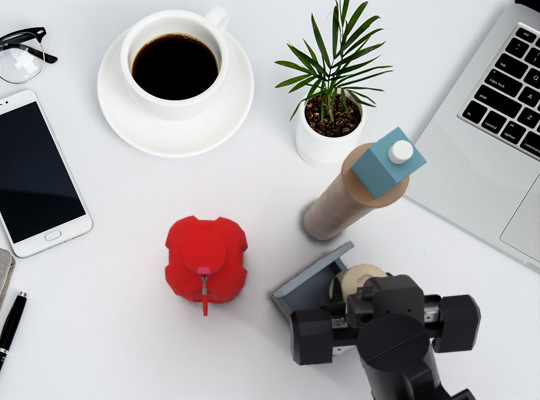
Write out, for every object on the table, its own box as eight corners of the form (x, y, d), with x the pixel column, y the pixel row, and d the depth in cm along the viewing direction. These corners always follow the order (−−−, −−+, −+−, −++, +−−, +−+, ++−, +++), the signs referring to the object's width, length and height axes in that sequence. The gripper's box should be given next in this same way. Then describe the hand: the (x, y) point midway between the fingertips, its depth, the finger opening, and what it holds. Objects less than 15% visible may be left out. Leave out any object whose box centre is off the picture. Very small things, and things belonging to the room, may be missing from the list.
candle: (381, 285, 76) (404, 280, 67) (359, 323, 76) (379, 323, 66) (342, 261, 77) (360, 253, 67) (320, 298, 76) (334, 295, 67)
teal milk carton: (401, 180, 55) (433, 157, 47) (375, 199, 55) (402, 179, 47) (376, 149, 56) (403, 120, 48) (350, 167, 56) (372, 142, 47)
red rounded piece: (174, 314, 84) (154, 315, 59) (176, 234, 86) (158, 203, 61) (242, 317, 83) (250, 318, 58) (243, 236, 85) (252, 205, 60)
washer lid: (355, 246, 68) (350, 240, 68) (284, 296, 67) (280, 290, 67) (337, 254, 78) (334, 249, 78) (276, 298, 77) (272, 293, 77)
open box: (371, 314, 82) (382, 315, 77) (313, 356, 82) (320, 360, 76) (327, 256, 84) (335, 252, 78) (270, 296, 83) (274, 295, 78)
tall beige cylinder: (352, 227, 84) (423, 181, 55) (317, 252, 84) (369, 220, 55) (326, 192, 86) (381, 129, 56) (291, 217, 85) (328, 166, 56)
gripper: (523, 316, 52) (453, 212, 65) (304, 336, 53) (278, 229, 66) (499, 400, 59) (440, 289, 72) (304, 417, 59) (280, 304, 72)
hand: (361, 277), depth 70 cm, fingers closed on candle, 5 cm apart
